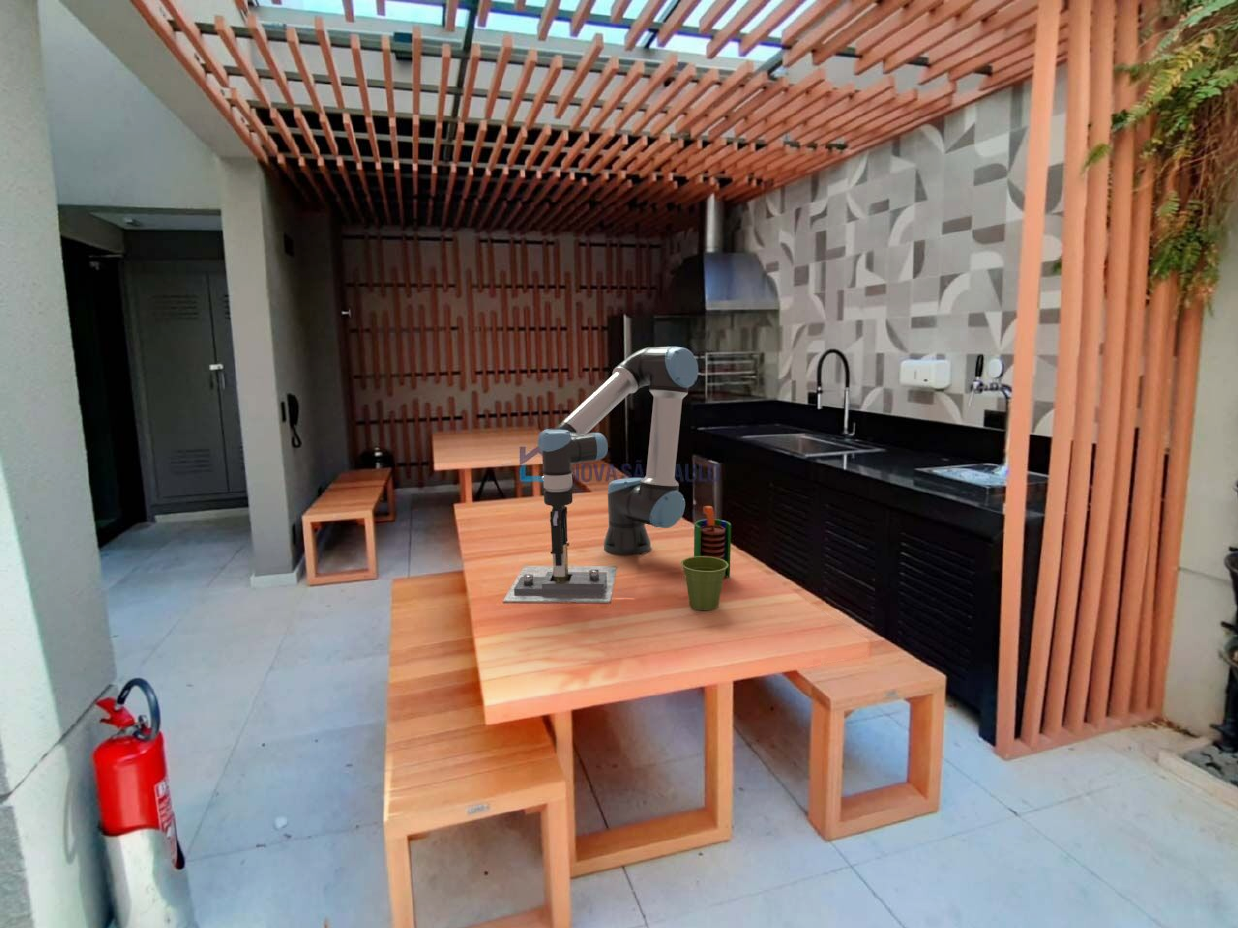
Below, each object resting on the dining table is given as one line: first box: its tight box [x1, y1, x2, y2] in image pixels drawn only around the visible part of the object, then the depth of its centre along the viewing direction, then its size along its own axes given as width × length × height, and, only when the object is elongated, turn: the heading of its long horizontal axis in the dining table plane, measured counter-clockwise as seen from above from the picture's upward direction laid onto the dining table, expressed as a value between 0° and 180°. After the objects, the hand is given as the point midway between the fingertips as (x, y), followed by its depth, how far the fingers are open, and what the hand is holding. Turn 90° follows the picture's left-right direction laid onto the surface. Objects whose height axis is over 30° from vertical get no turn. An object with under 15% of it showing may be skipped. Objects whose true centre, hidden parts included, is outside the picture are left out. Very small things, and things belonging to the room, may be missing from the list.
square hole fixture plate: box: [502, 565, 618, 604], centre depth 183 cm, size 28×27×6 cm
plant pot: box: [680, 556, 729, 611], centre depth 166 cm, size 12×12×11 cm
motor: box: [693, 505, 732, 581], centre depth 186 cm, size 10×9×20 cm
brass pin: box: [552, 543, 569, 581], centre depth 178 cm, size 4×4×12 cm
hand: (561, 572), depth 178 cm, fingers closed on brass pin, 4 cm apart
